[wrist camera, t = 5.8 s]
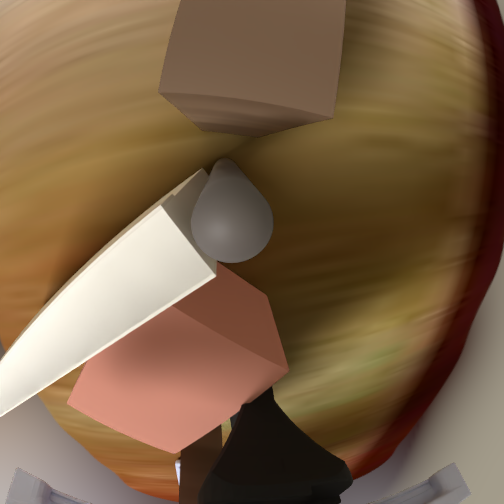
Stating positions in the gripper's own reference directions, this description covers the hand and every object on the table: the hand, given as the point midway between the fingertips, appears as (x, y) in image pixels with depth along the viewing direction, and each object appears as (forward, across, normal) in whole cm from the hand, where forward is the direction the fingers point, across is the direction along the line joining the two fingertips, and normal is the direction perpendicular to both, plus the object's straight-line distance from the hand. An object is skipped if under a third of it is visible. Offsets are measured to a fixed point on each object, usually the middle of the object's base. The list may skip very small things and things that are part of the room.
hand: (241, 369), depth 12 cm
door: (+1, +6, -4) cm, 8 cm away
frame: (+1, +2, -6) cm, 6 cm away
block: (+1, +3, -2) cm, 4 cm away
